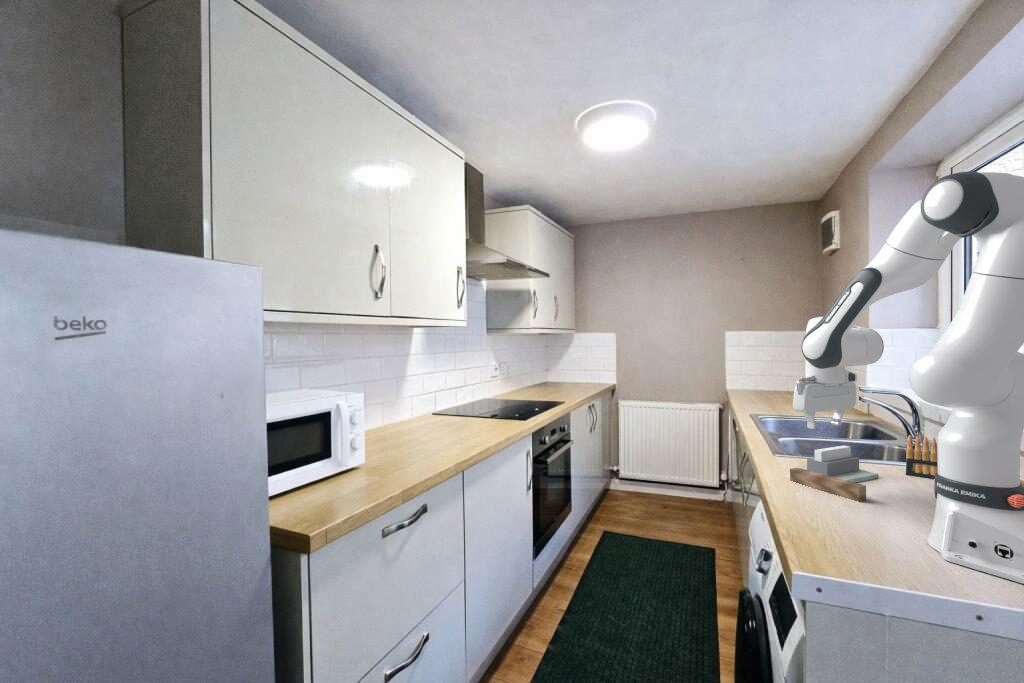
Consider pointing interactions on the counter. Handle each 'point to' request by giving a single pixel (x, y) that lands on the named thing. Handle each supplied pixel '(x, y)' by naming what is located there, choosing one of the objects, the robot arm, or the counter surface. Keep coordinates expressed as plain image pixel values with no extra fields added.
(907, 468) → the ammunition clip
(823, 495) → the counter surface
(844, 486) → the walnut batten
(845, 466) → the ridge stand
